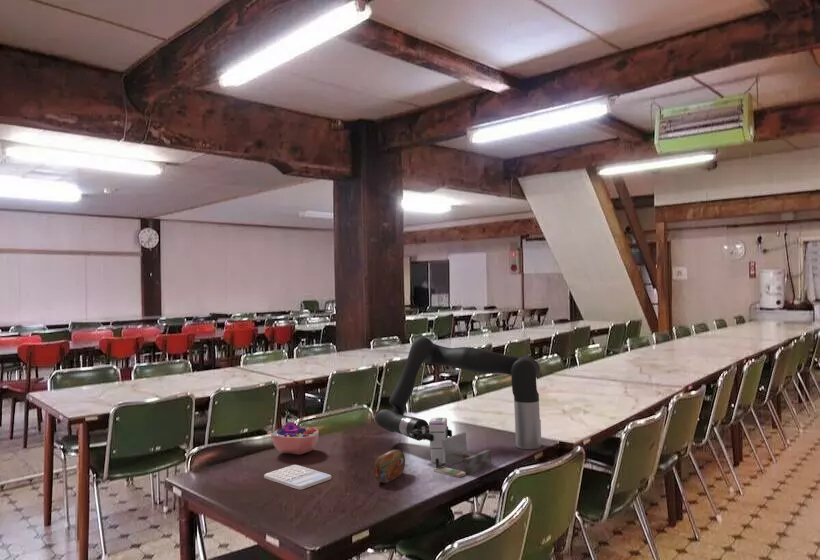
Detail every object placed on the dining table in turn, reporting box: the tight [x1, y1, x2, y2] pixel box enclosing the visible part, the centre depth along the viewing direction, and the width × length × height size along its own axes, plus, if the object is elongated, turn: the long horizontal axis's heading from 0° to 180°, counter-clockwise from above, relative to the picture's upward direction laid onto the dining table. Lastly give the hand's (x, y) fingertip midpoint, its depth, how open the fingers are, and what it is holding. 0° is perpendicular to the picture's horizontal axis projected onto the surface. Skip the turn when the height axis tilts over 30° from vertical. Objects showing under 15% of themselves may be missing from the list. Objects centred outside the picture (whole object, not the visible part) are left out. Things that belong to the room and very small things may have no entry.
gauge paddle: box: [435, 431, 468, 468], centre depth 195 cm, size 16×1×9 cm, turn 138°
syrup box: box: [428, 417, 449, 464], centre depth 202 cm, size 6×6×14 cm
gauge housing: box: [433, 449, 492, 478], centre depth 193 cm, size 18×12×5 cm, turn 138°
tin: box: [373, 449, 406, 484], centre depth 185 cm, size 15×3×8 cm, turn 149°
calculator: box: [263, 464, 332, 490], centre depth 188 cm, size 13×20×2 cm, turn 48°
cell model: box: [269, 421, 319, 456], centre depth 217 cm, size 17×20×11 cm
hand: (442, 435), depth 200 cm, fingers closed on syrup box, 8 cm apart
